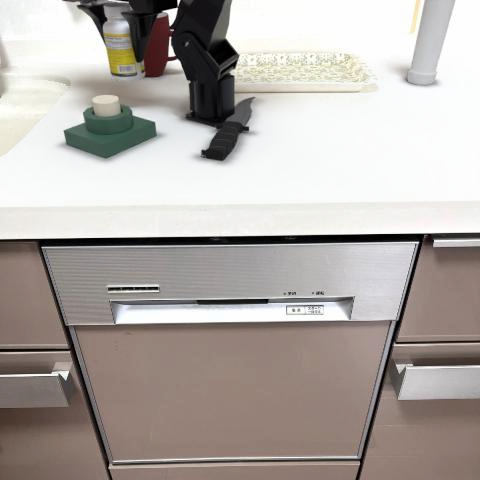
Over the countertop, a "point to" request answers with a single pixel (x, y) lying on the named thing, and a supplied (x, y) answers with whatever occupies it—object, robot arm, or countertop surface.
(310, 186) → the countertop surface
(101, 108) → the cream short cylinder
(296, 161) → the countertop surface
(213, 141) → the knife
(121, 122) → the green peg holder
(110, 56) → the supplement bottle
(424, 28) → the white tall cylinder
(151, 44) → the mug
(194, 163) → the countertop surface
